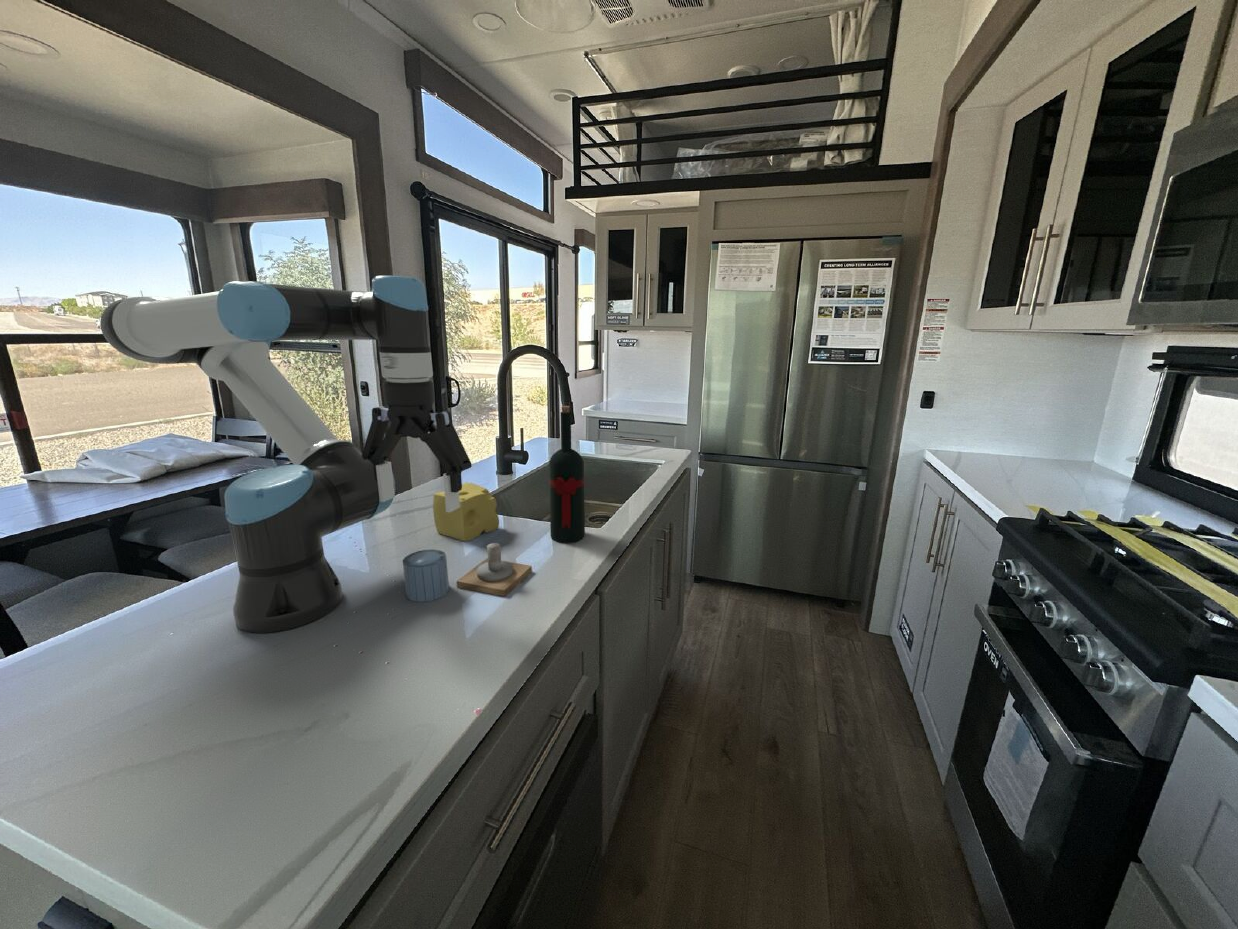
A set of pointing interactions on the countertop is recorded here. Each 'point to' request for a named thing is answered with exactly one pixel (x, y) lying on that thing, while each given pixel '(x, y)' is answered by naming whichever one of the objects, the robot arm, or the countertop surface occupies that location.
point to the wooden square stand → (494, 574)
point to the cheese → (466, 513)
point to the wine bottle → (566, 488)
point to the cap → (425, 575)
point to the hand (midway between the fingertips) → (419, 504)
